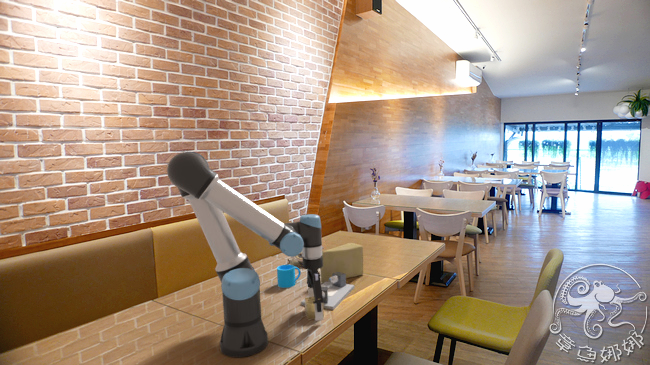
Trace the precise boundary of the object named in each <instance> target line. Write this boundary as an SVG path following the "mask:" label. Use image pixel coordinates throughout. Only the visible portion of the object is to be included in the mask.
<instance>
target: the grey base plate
mask: <svg viewBox="0 0 650 365" xmlns="http://www.w3.org/2000/svg"><path fill="white" fill-rule="evenodd" d="M321 285H325V286H326V287H328V303H323V309H325V310H332V311H334V310H335V309H336V308H337V307H338V305H340V303H342V302H343V301H344V300H345V298H346V297H347V296H348V295H349V294H350V293H351V292H352V291H353V290H354V289H355V284H349V283H346V286H343V287H341V288H340V287H337V286H334V285H333V284H330V282H326V281H325V282H324V283H321ZM307 297H309V295H307ZM300 305H301V306H305V298H304V299H303V300H301V302H300Z"/></svg>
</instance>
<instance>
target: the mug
mask: <svg viewBox="0 0 650 365" xmlns="http://www.w3.org/2000/svg"><path fill="white" fill-rule="evenodd" d="M276 270H277V271H276V278H277V286H278V287H279V288H282V289H286V288H288V289H289V288H292V287H293V288H294V286H296V281H297V280H298V279H300V277H301V273H302V272H301V269H300V268H299V266H298V267H297V266H296V265H289V264H282V265H281V264H280V265H278V266H277V267H276ZM296 270H297V272H298V274H297V276H296Z"/></svg>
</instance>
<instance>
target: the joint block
mask: <svg viewBox="0 0 650 365" xmlns="http://www.w3.org/2000/svg"><path fill="white" fill-rule="evenodd" d="M304 299H305V305H304V311H305V312H304V313H305V315H306V318H307V320H315V305H314V304H313V301H315V298H314V297H308V296H306V297H304ZM322 307H323V303H322ZM324 314H325V312H324V309H323V319H324V317H325V315H324Z"/></svg>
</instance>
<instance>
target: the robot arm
mask: <svg viewBox="0 0 650 365" xmlns="http://www.w3.org/2000/svg"><path fill="white" fill-rule="evenodd" d="M166 172H167V178H168V179H169V181H170V183H171V184H173V186H175V187H176V188H177V190H178V191H179V194H180V195H181V198H182V199H185V200H187V201H188V202H189V204H190V207H191V208H192V211H193V212H194V215H195V217H196V219H197V221H198V224H199V226H200V228H201V230H202V233H203V234H204V237H205V239H206V241H207V243H208V246H209V247H210V250H211V252H212V254H213V256H214V259H215V260H216V263H217V264H216V267H215V268H214V270H215V272H216V274H217V277H218V279H219V281H220V283H221V284H220V285H221V293H222V294H221V295H222V308H223V320H224V321H223V323H224V324H223V327H222V328H223V329H222V331H221V336H220V340H219V349H220V350H219V351H220V352H221V353H222V354H223V355H224V356H227V357H230V358H231V357H232V358H244V357H245V358H247V357H249V356H253V355H255V354H258V353H260V352H262V351H263V350H265V349H266V348H267V346H268V344H269V335H268V332H267V330H266V328H265V324H264V323H263V320H262V307H261V306H262V305H261V303H262V302H261V287H260V286H261V280H260V276H259V273H258V272H257V271H256V270H255V268H254V266H253V265H252V263H251V261H250V259H249V256H248V255H247V254H246V253H245V252H244V253H243V252H242V251H241V249H240V248H239V245H238V243H237V240H236V238H235V236H234V234H233V232H232V229H231V228H230V225H229V222H228V221H227V218H226V216H225V214H227V216H229V217H231V218H232V219H234V220H235V221H237V222H238V223H239V224H240V225H243V226H244V227H246V228H247V229H248V230H250V231H252V232H253V233H255V234H256V235H258V236H260V237H261V238H262V239H264V240H266V241H267V242H268V244H269V245H270V246H272V247H273V246H274V247H276V248H277V249H279V250H280V251H281V253H282V254H284V255H285V256H286V257H290V258H291V257H294V256H297V255H298V254H300V253H301V252H302V256H303V266H302V268H304V270H306V271H307V275H306V277H307V278H306V284H307V290H308V291H307V293H308V295H307V296H309V297H314V298H315V301H313V304H314V305H315V319H314V320H315V321H323V320H324V318H323V310H324V308H323V307H322V303H323V296H322V288H321V285H322V283H321V272H319V269H321V268H322V267H323V257H322V251H323V250H324V248H325V247H324V246H323V240H322V229H323V228H322V223H321V222H322V221H321V217H320V215H318V214H313V213H312V214H309V213H308V214H303V215H301V216H300V218H299V221H294V222H285V223H284V222H282V221H280V220H279V219H278V218H276V217H274V215H272V214H271V213H269V212H267V210H265V209H263V208H262V207H260V206H259V205H257V204H256V203H255V202H253V201H251V199H249V198H248V197H246V196H245V195H243V194H241V193H240V192H239V191H237V190H235V189H234V187H231V186H230V185H229V184H227V183H225V181H223V180H221V179H220V177H219V174H218V173H217V172H216V171H214V170H213V169H212V168H210V166H209V162H208V161H207V159H206V158H205V157H204V156H203V155H201V154H200V153H198V152H195V151H186V152H185V151H184V152H180V153H177V154H175V155H174V156H173V157H172V158H171V159H170V160H169V161H168V165H167V166H166ZM224 213H225V214H224Z"/></svg>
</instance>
